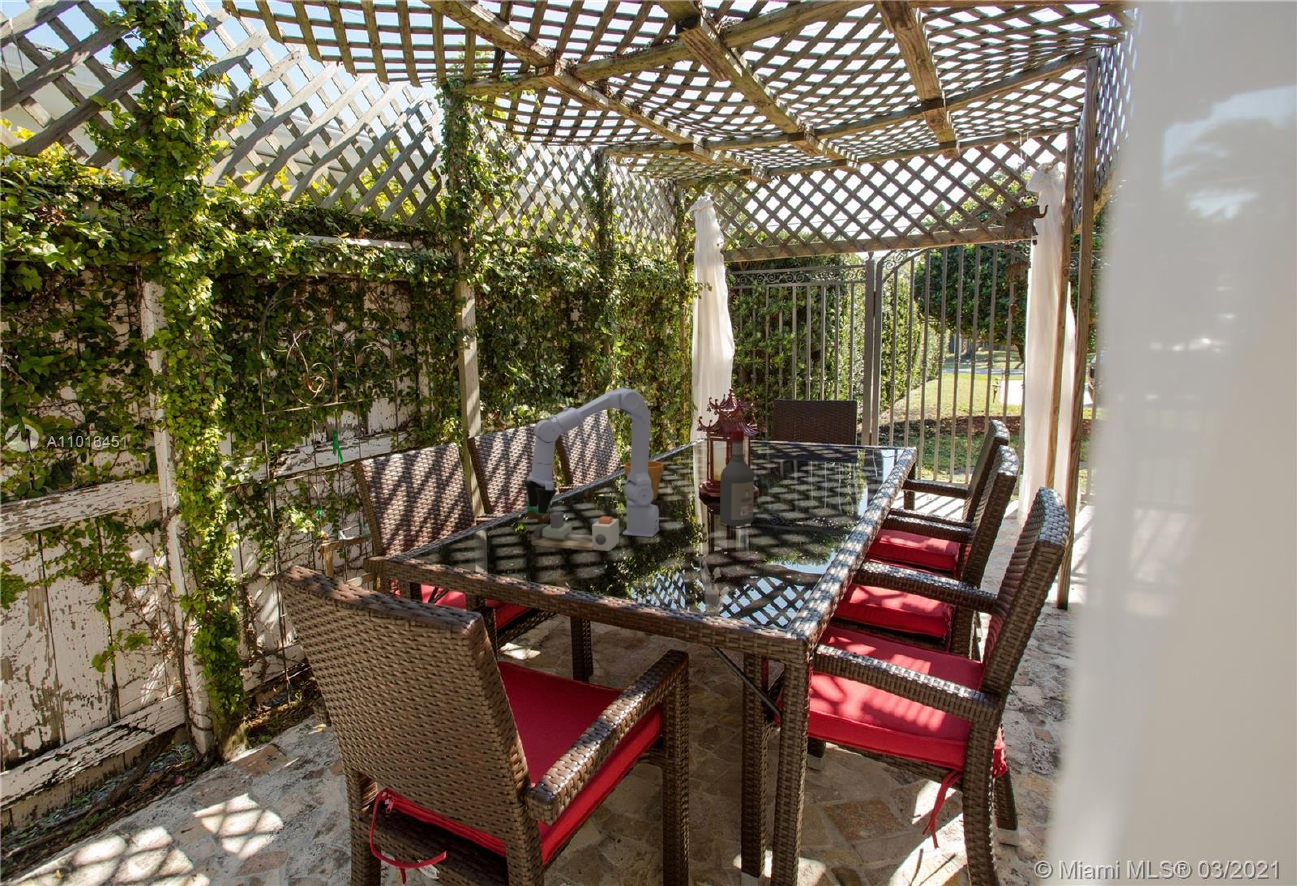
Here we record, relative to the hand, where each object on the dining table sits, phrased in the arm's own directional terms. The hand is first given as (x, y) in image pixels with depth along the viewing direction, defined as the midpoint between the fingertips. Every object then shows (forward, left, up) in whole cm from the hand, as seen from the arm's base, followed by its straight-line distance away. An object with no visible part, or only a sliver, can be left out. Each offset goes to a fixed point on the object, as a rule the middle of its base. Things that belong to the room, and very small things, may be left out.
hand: (537, 509), depth 189 cm
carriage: (-4, -5, -9) cm, 11 cm away
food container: (+10, -24, -11) cm, 28 cm away
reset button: (-19, -5, -5) cm, 20 cm away
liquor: (-51, -37, -11) cm, 64 cm away
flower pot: (-13, -61, -11) cm, 63 cm away
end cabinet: (-19, -5, -11) cm, 22 cm away
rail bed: (-7, -5, -11) cm, 13 cm away
